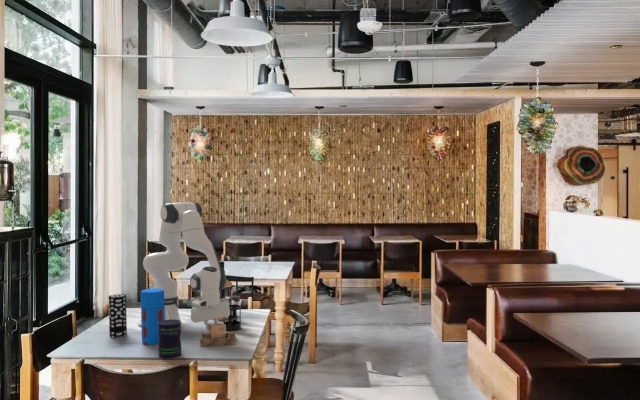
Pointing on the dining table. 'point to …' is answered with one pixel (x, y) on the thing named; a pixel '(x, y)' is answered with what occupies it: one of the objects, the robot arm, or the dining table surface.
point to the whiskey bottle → (225, 289)
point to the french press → (233, 313)
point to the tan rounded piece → (217, 330)
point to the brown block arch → (217, 340)
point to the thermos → (151, 314)
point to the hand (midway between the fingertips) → (211, 328)
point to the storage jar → (169, 339)
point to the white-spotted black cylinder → (117, 315)
